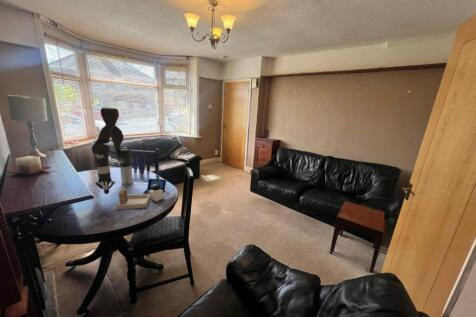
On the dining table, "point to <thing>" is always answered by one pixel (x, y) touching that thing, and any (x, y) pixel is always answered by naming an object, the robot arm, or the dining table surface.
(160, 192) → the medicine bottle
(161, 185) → the handheld game console
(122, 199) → the slab
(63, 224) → the dining table surface
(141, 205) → the tray
